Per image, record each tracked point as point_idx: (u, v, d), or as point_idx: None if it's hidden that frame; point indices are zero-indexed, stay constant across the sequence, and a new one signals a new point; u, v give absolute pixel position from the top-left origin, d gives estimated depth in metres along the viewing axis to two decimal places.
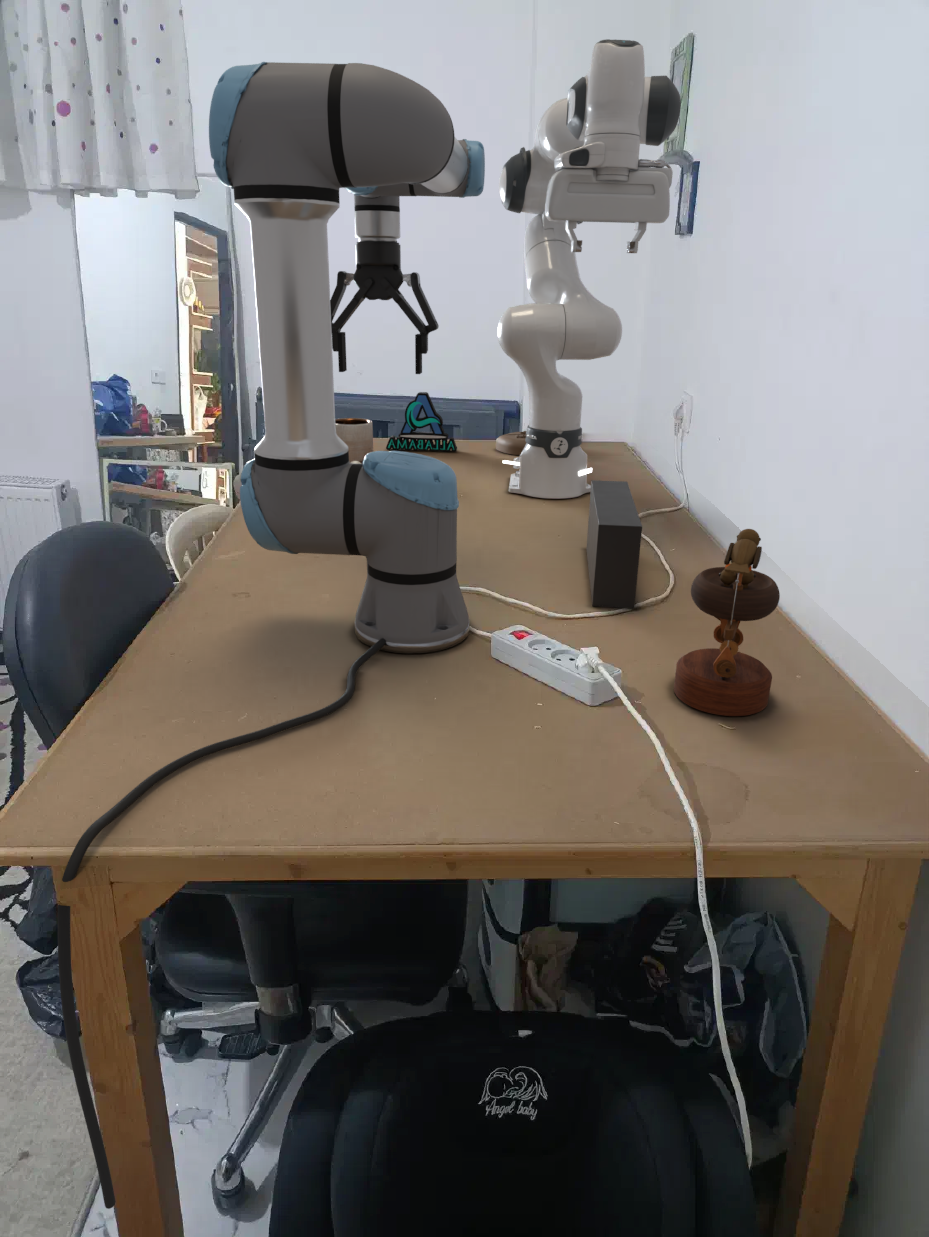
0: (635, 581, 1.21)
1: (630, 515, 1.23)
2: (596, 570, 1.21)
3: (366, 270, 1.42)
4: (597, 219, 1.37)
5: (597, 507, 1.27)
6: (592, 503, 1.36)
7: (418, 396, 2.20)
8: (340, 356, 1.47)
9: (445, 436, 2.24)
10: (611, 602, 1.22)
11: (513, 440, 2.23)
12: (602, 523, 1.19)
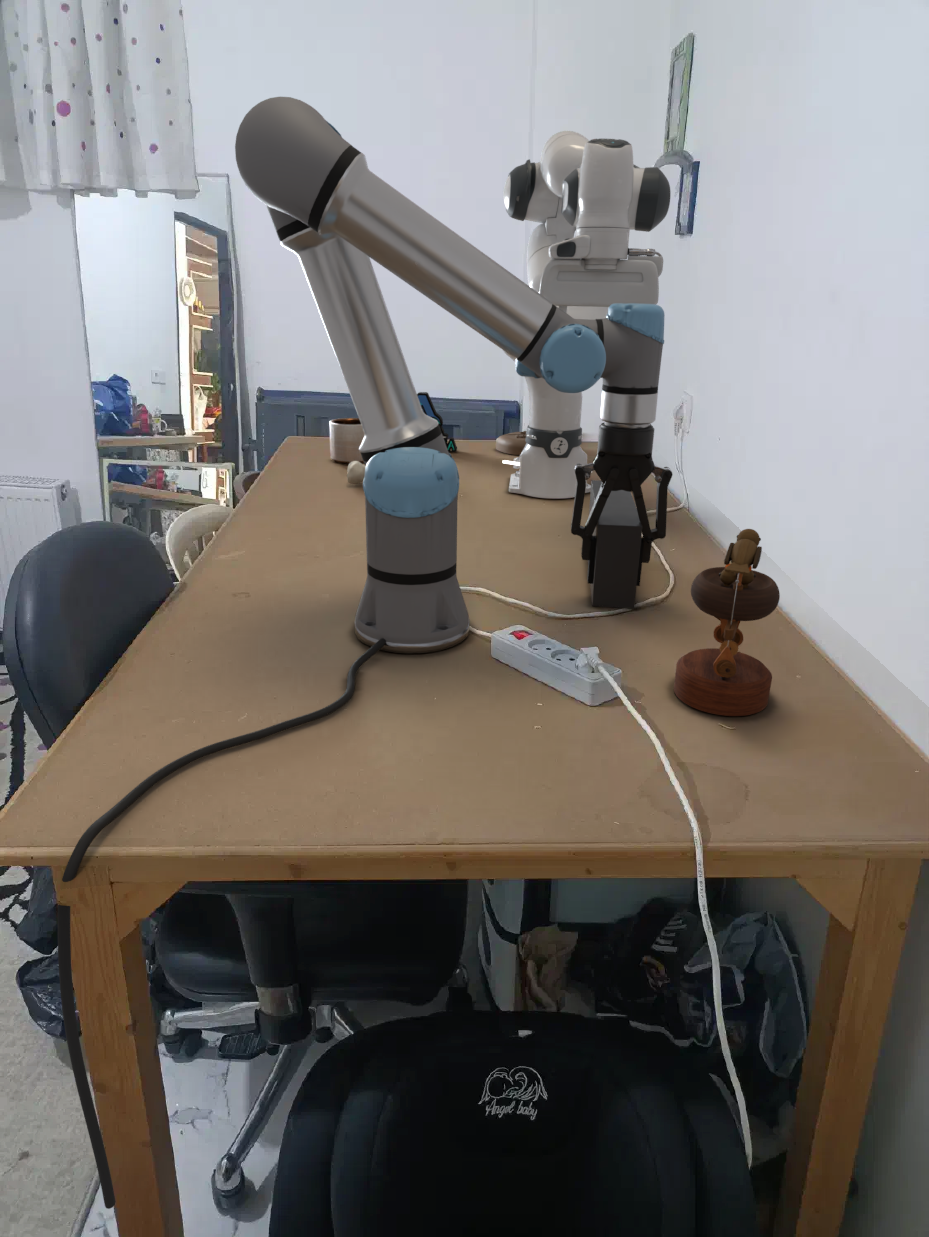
0: (635, 581, 1.21)
1: (630, 515, 1.23)
2: (596, 570, 1.21)
3: (611, 458, 1.17)
4: (586, 305, 1.43)
5: None
6: (592, 503, 1.36)
7: (418, 396, 2.20)
8: (591, 566, 1.23)
9: (445, 436, 2.24)
10: (611, 602, 1.22)
11: (513, 440, 2.23)
12: (602, 523, 1.19)
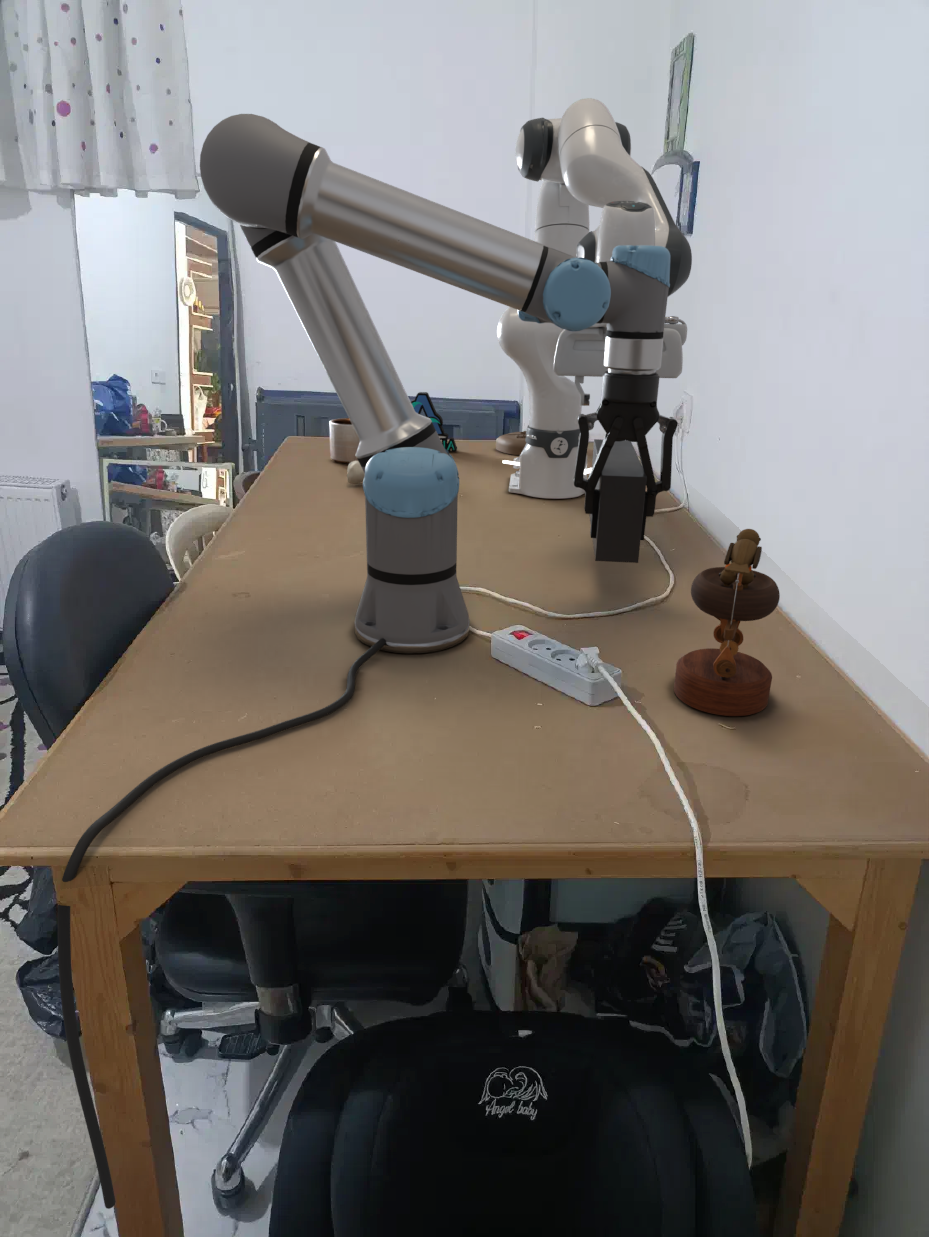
0: (639, 534, 1.18)
1: (634, 468, 1.20)
2: (599, 523, 1.18)
3: (615, 407, 1.14)
4: None
5: None
6: None
7: (418, 396, 2.20)
8: (594, 520, 1.20)
9: (445, 436, 2.24)
10: (615, 556, 1.19)
11: (513, 440, 2.23)
12: (606, 474, 1.16)
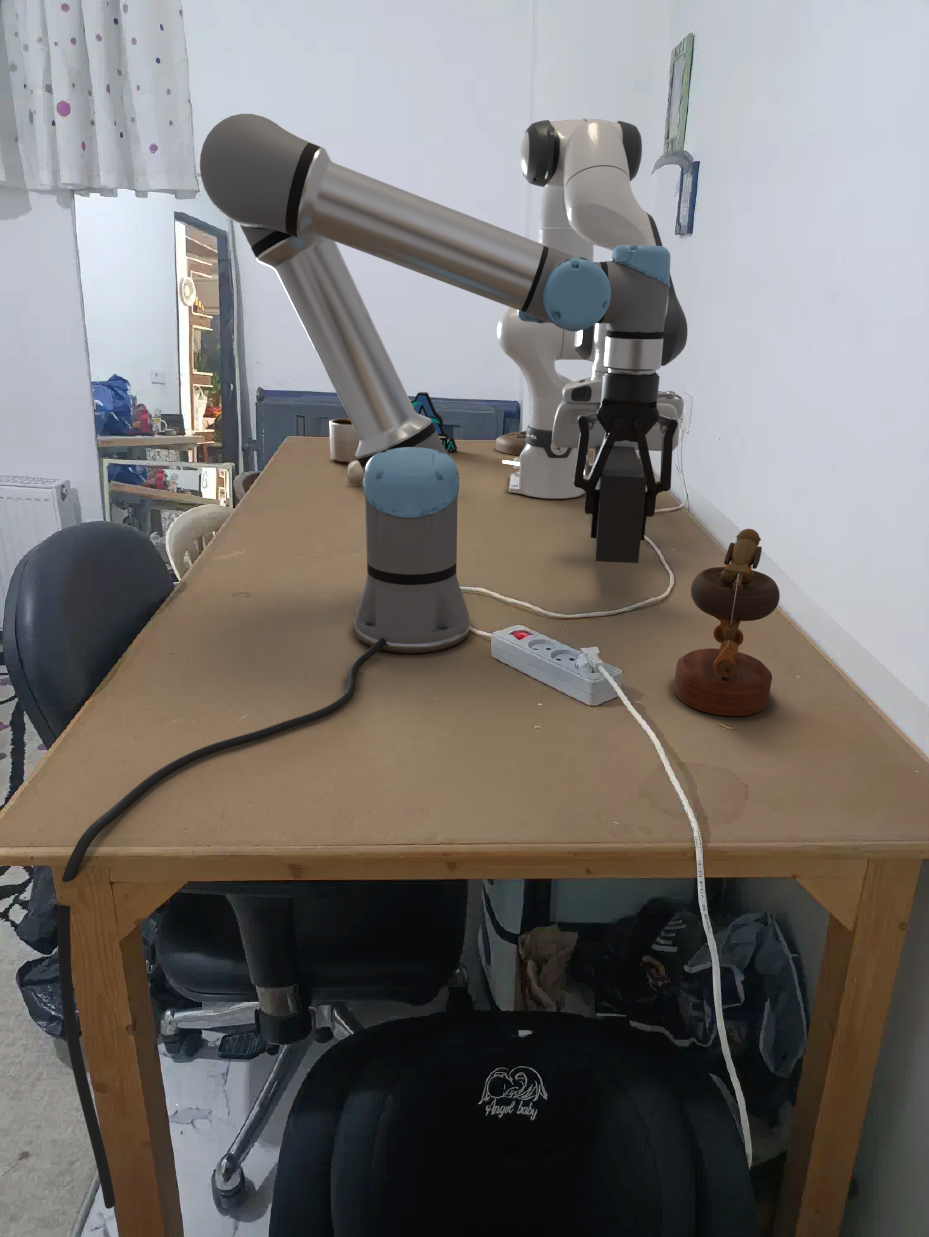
0: (639, 535, 1.18)
1: (634, 468, 1.20)
2: (599, 523, 1.18)
3: (615, 407, 1.14)
4: None
5: None
6: None
7: (418, 396, 2.20)
8: (594, 520, 1.20)
9: (445, 436, 2.24)
10: (615, 557, 1.19)
11: (513, 440, 2.23)
12: (605, 474, 1.16)
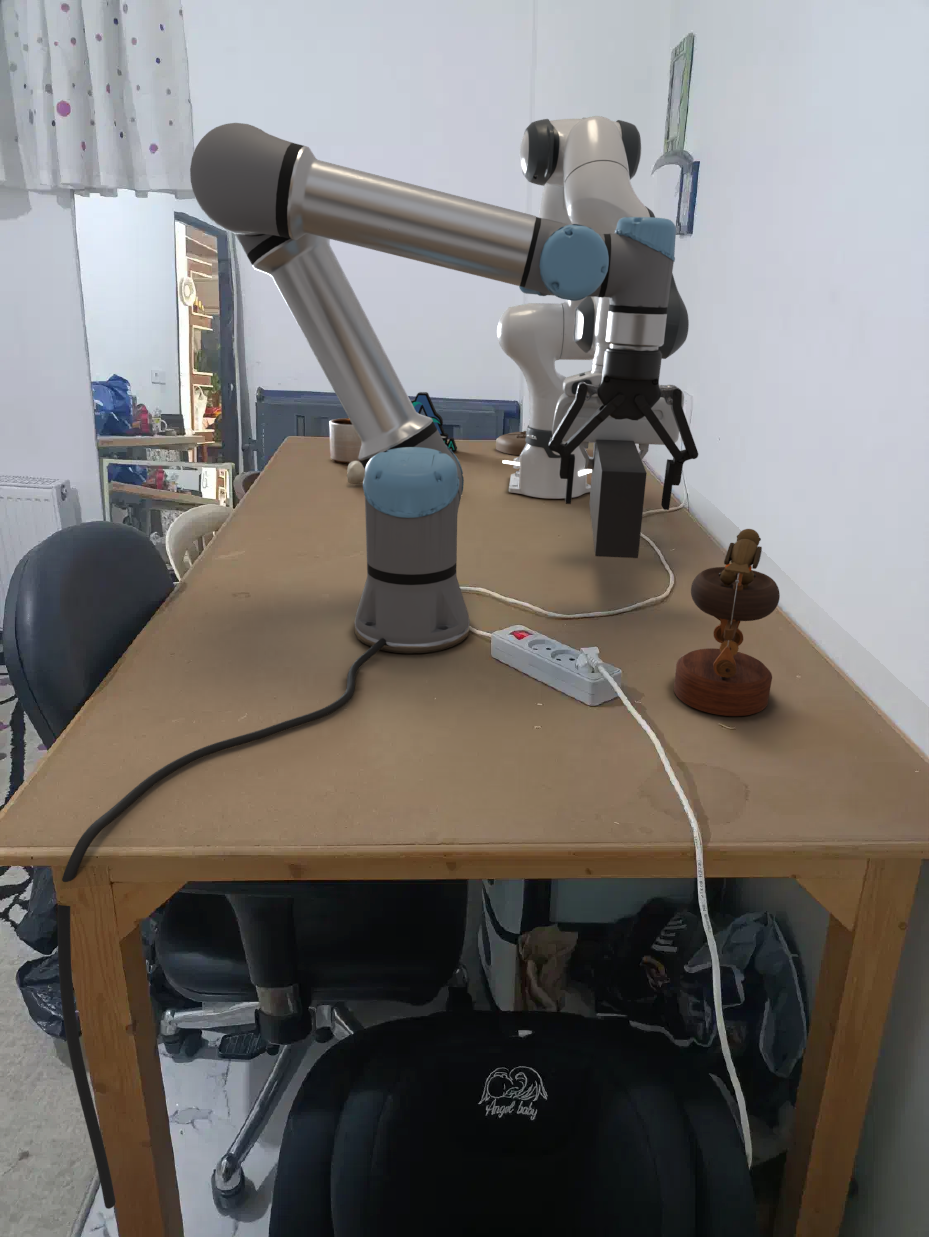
0: (639, 530, 1.18)
1: (634, 463, 1.20)
2: (599, 519, 1.18)
3: (616, 384, 1.12)
4: None
5: (600, 456, 1.24)
6: (595, 455, 1.34)
7: (418, 396, 2.20)
8: (569, 485, 1.17)
9: (445, 436, 2.24)
10: (615, 552, 1.20)
11: (513, 440, 2.23)
12: (605, 470, 1.16)
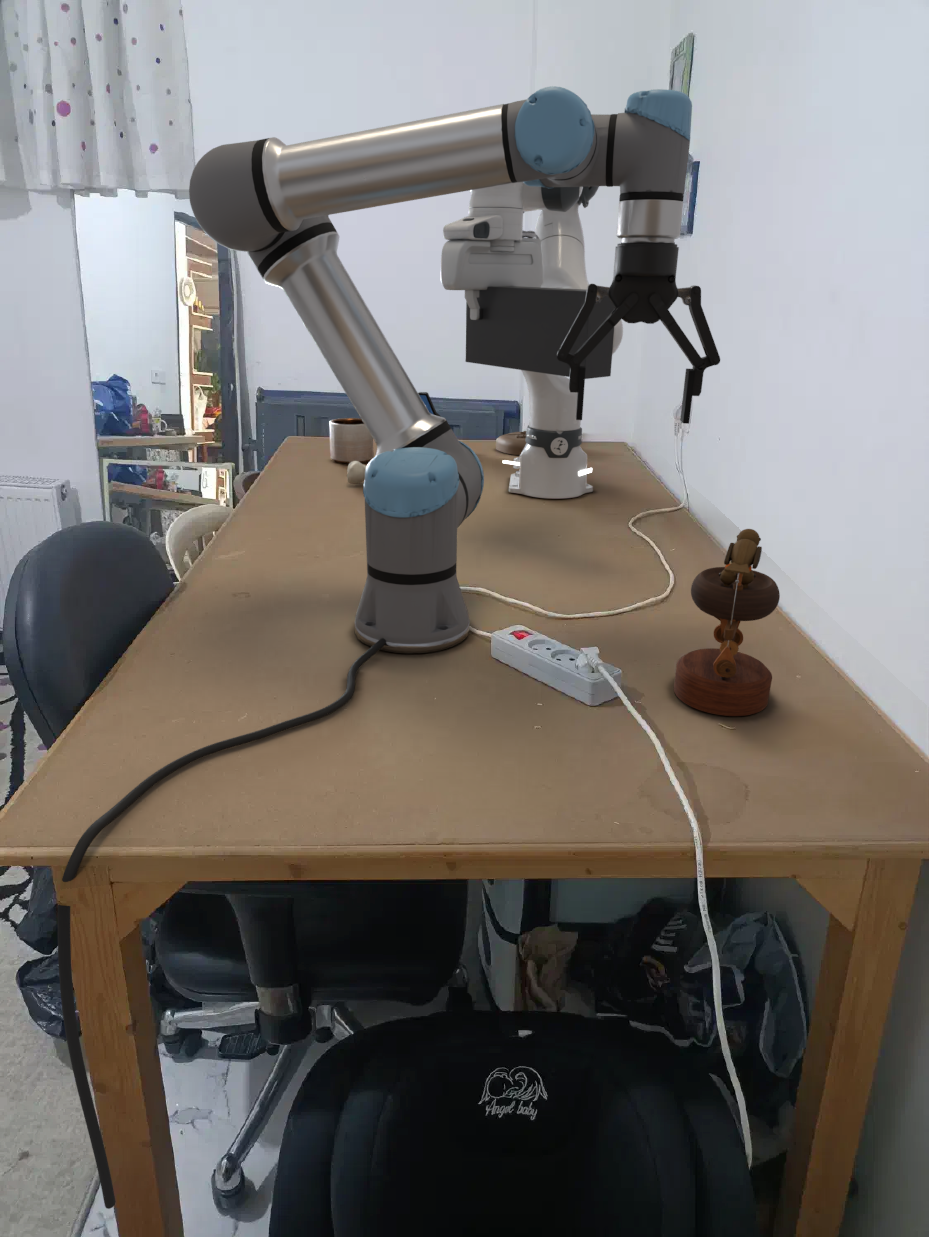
0: (612, 348, 1.29)
1: None
2: None
3: (629, 283, 1.03)
4: None
5: (545, 289, 1.29)
6: (500, 299, 1.36)
7: None
8: (580, 399, 1.08)
9: None
10: (596, 372, 1.28)
11: (513, 440, 2.23)
12: None
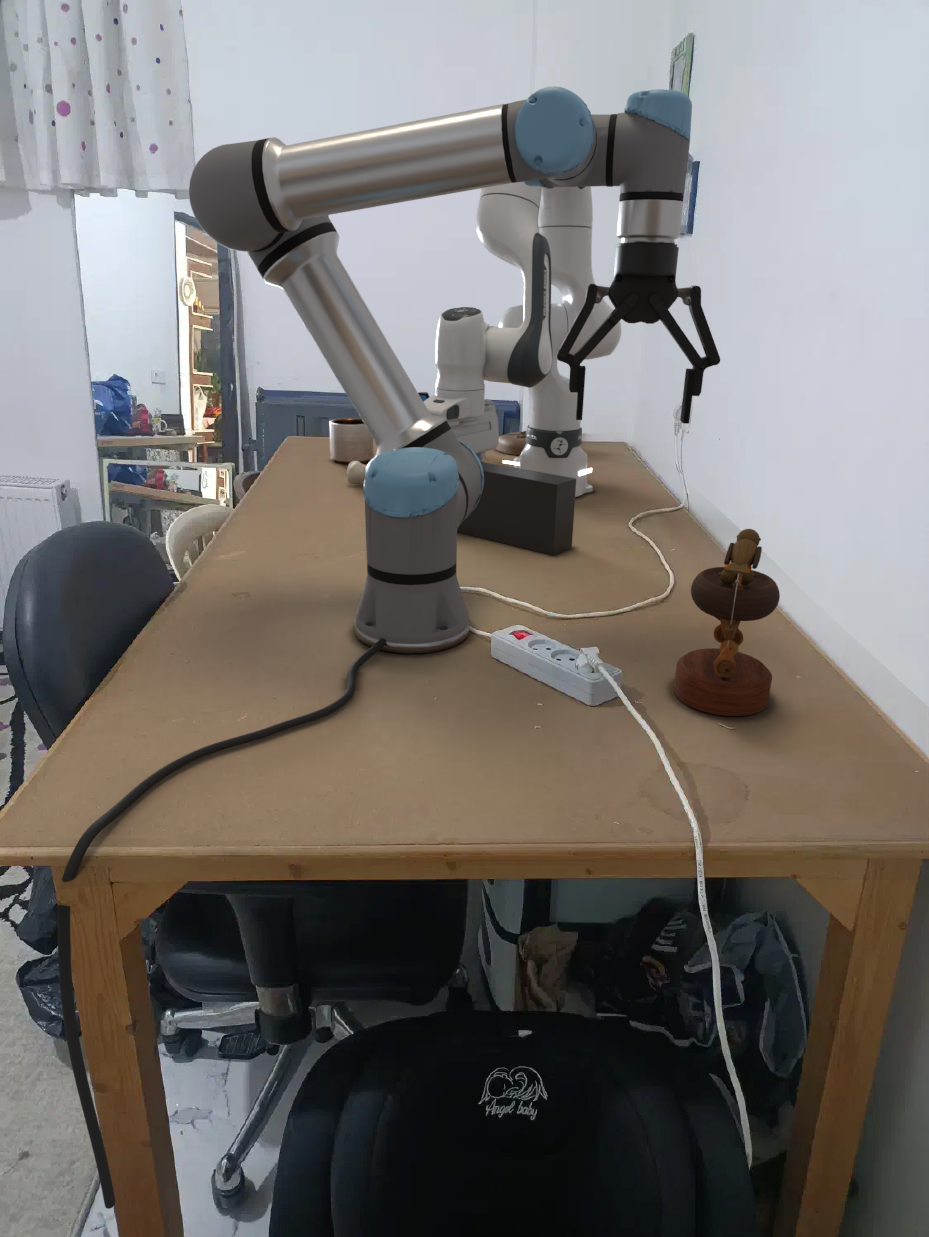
0: (572, 525, 1.47)
1: (545, 474, 1.47)
2: (555, 524, 1.43)
3: (629, 283, 1.03)
4: None
5: (512, 475, 1.45)
6: None
7: None
8: (580, 399, 1.08)
9: None
10: (562, 547, 1.46)
11: (513, 440, 2.23)
12: (556, 483, 1.41)
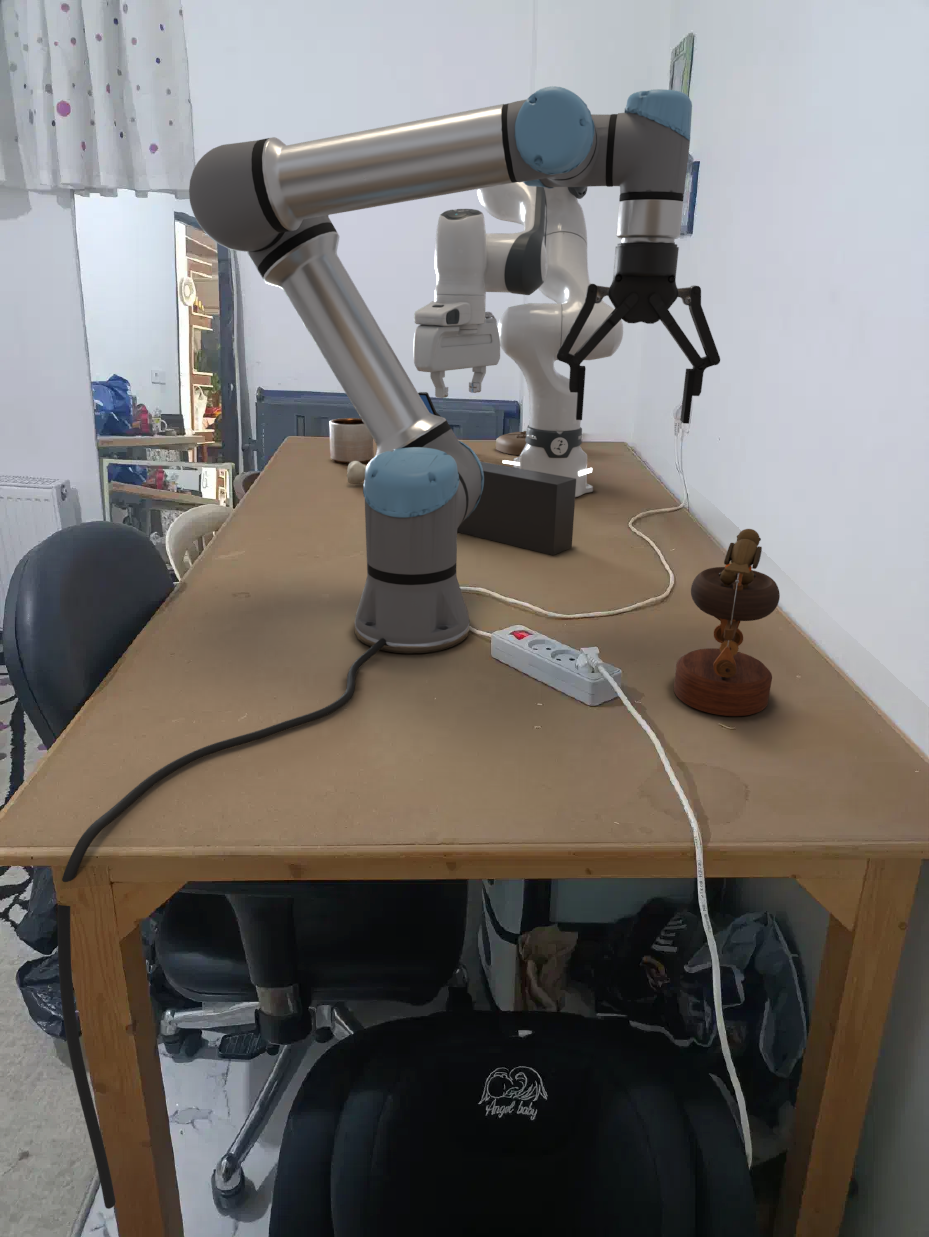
0: (572, 525, 1.47)
1: (545, 474, 1.47)
2: (555, 524, 1.43)
3: (629, 283, 1.03)
4: (459, 368, 1.47)
5: (512, 475, 1.45)
6: None
7: None
8: (580, 399, 1.08)
9: None
10: (562, 547, 1.46)
11: (513, 440, 2.23)
12: (556, 483, 1.41)
